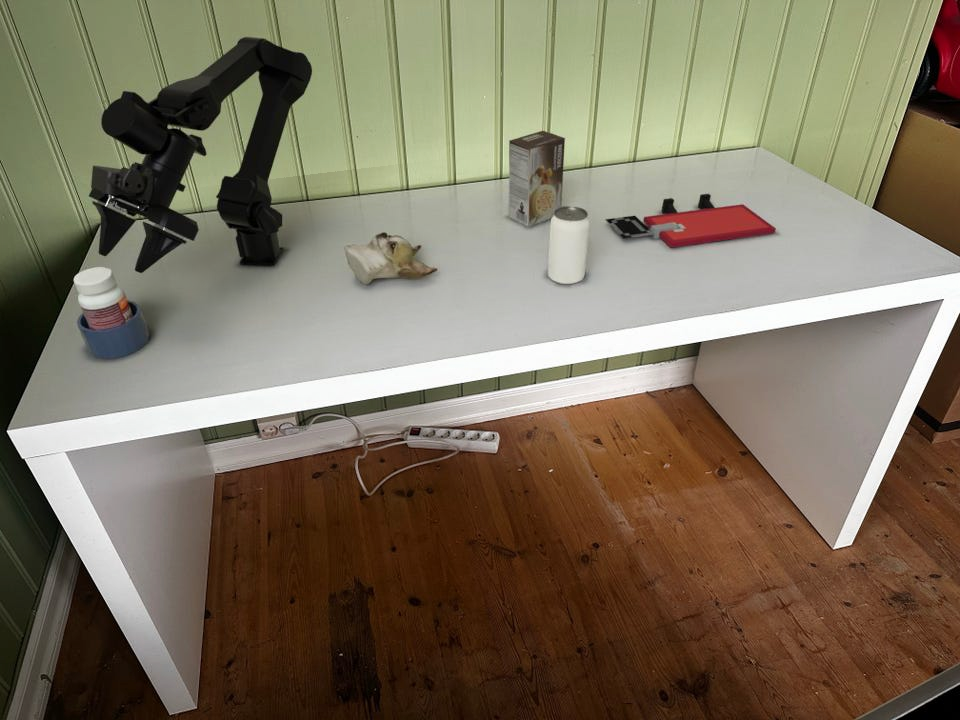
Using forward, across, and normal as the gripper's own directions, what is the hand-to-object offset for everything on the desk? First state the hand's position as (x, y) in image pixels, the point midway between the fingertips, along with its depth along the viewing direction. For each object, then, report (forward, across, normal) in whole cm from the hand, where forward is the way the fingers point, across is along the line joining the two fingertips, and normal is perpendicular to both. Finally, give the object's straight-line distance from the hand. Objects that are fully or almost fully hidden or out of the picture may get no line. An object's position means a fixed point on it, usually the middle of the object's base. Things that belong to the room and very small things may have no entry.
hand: (119, 263), depth 101 cm
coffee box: (-41, +30, +58) cm, 77 cm away
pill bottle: (+11, 0, +5) cm, 12 cm away
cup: (+11, 0, +6) cm, 13 cm away
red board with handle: (-50, +58, +66) cm, 101 cm away
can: (-28, +47, +45) cm, 71 cm away
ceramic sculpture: (-16, +21, +33) cm, 42 cm away
